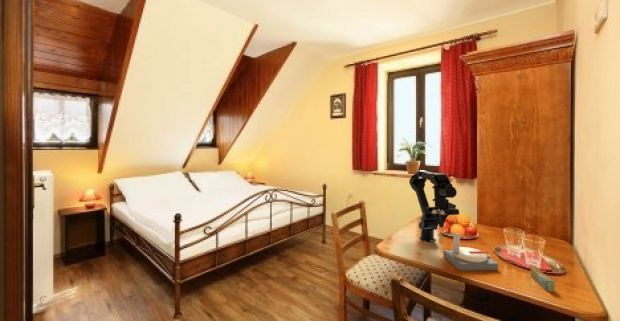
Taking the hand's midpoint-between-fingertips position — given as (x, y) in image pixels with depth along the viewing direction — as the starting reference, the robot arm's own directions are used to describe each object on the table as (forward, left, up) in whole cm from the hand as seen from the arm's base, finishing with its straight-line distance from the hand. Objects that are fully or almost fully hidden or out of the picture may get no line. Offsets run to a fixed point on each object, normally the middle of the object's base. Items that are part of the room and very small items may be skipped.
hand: (441, 227), depth 146 cm
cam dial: (0, +17, -9) cm, 19 cm away
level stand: (+1, +17, -12) cm, 20 cm away
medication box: (-9, +41, -12) cm, 44 cm away
